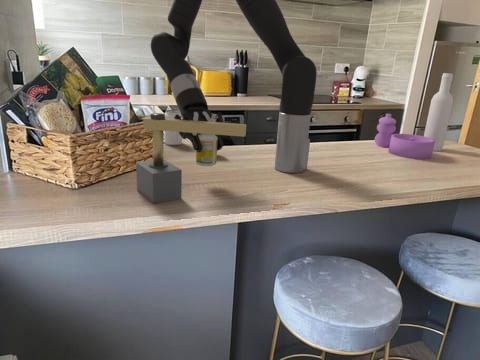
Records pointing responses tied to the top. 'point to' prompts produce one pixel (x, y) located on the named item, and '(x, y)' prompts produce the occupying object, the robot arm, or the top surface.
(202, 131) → the tan latch lever
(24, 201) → the top surface
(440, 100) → the bottle
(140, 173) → the block
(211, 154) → the supplement bottle
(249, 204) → the top surface
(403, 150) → the container set
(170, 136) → the can
